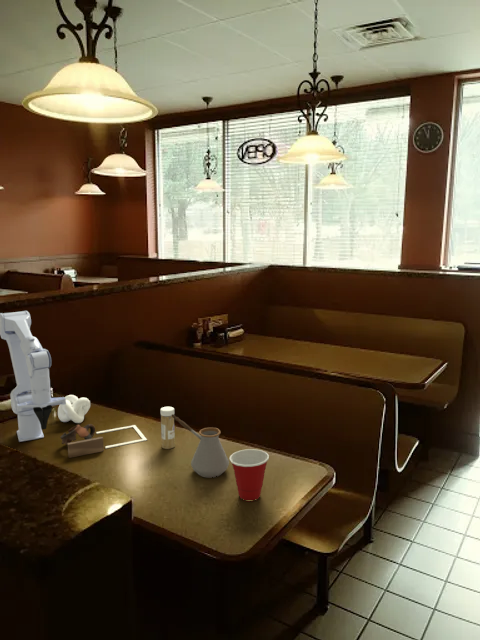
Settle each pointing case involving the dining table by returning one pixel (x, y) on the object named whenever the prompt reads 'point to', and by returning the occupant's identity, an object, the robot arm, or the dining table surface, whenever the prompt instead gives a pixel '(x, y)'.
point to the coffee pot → (207, 452)
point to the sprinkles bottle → (167, 427)
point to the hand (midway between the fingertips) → (43, 428)
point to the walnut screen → (85, 447)
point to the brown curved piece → (80, 431)
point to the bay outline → (125, 442)
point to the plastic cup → (249, 472)
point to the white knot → (73, 409)
